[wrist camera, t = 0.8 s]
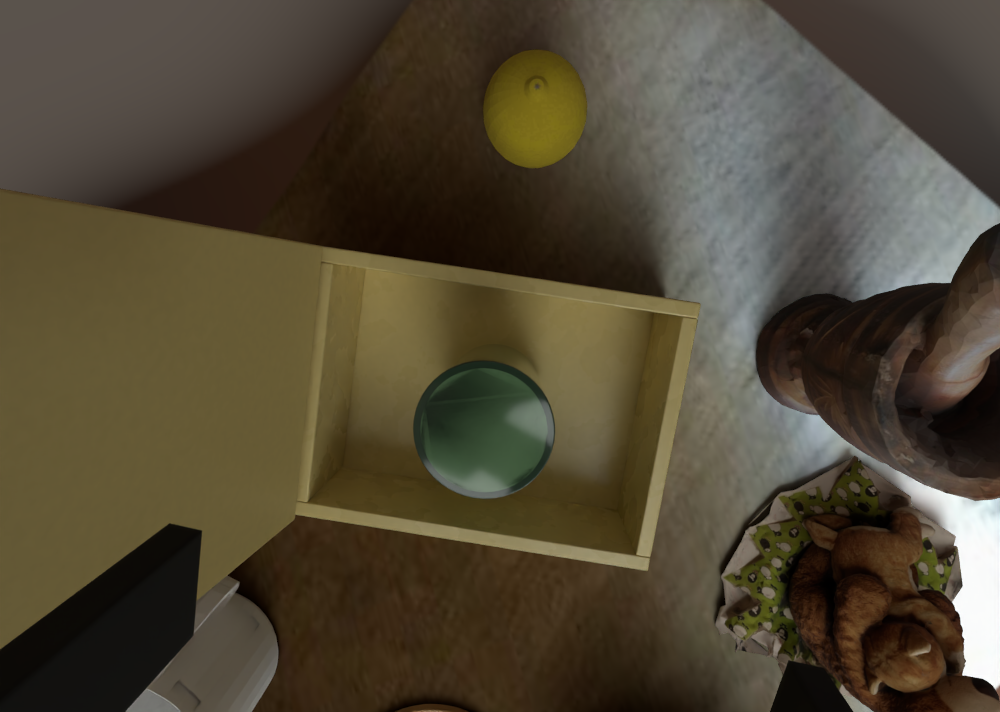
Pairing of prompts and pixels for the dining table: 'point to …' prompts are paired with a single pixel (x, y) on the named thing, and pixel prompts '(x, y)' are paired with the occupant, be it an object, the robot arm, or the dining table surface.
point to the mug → (217, 659)
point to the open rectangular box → (564, 379)
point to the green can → (485, 424)
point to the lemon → (535, 108)
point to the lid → (143, 392)
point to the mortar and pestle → (903, 372)
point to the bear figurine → (855, 594)
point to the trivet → (431, 708)
